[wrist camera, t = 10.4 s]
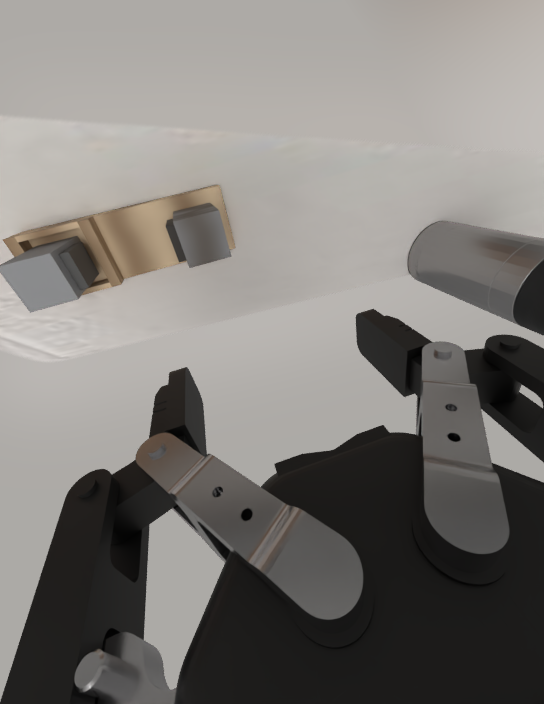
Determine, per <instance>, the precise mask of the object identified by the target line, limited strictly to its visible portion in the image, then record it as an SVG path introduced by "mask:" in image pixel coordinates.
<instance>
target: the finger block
mask: <svg viewBox="0 0 544 704" xmlns="http://www.w3.org/2000/svg"><path fill="white" fill-rule="evenodd" d="M0 273H1V274H2V275H3V277H4V278H5V279H6V281H7V282H8V283H9V285H10V286H11V287H12V289H13V290H14V291H15V293H16V294H17V295H18V297H19V298H20V299H21V301H22V302H23V303H24V305H25V306H26V307H27V309H28V310H29V311H30V312H34V311H37V310H41V309H45V308H48V307H52V306H55V305H59V304H63V303H66V302H70V301H73V300H77V299H79V298H80V296H81V295H82V294H83V292H84V291H85V290H86V289H87V288H89V287H90V285H91V284H92V283H93V281H94V280H95V279H96V277H97V276H98V275H99V272H98V270H97V268H96V267H95V265H94V263H93V261H92V259H91V258H90V256H89V254H88V252H87V250H86V248H85V247H84V245H83V243H82V242H81V241H80V239H79V237H78V236H74V237H70V238H66V239H62V240H58V241H54V242H50V243H46V244H42V245H38V246H35V247H34V248H32V249H30V250H28V251H26V252H24V253H22V254H20V255H18V256H16V257H14V258H13V259H11V260H9V261H7V262H5V263H3V264H1V265H0Z"/></svg>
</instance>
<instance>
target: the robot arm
mask: <svg viewBox="0 0 544 704" xmlns="http://www.w3.org/2000/svg"><path fill="white" fill-rule="evenodd" d="M408 267H409V272H410V274H411V275H412V277H413V278H415V279H416V280H418V281H420V282H422V283H425V284H427V285H429V286H431V287H433V288H435V289H438V290H440V291H442V292H445V293H447V294H449V295H452V296H454V297H456V298H458V299H460V300H463V301H465V302H467V303H470V304H472V305H474V306H477V307H479V308H481V309H483V310H486V311H488V312H490V313H492V314H495V315H497V316H500V317H502V318H504V319H507V320H509V321H511V322H513V323H515V324H518V325H520V326H522V327H525V328H527V329H529V330H532V331H534V332H537V333H539V334H541V335H544V239H543V238H538V237H532V236H526V235H521V234H515V233H509V232H504V231H498V230H492V229H487V228H481V227H475V226H470V225H465V224H459V223H453V222H448V221H441V222H437V223H434V224H432V225H430V226H429V227H428V228H426V229H425V230H424V231H423V232H422V233H421V234H420V235H419V236H418V238H417V239H416V241H415V242H414V244H413V246H412V248H411V251H410V254H409V259H408ZM356 332H357V345H358V348H359V350H360V352H361V354H362V355H363V356H364V357H365V358H366V359H367V360H368V361H369V362H370V363H371V364H372V365H373V366H374V367H375V368H376V369H377V370H378V371H379V372H380V373H381V374H382V375H383V376H384V377H385V378H386V379H387V380H388V381H389V382H390V383H391V384H392V385H393V386H394V387H395V388H396V389H397V390H398V391H399V392H400V393H401V394H402V395H403V396H404V397H406V396H409V395H412V394H414V393H415V394H416V395H417V414H416V415H417V416H416V417H417V418H416V435H415V434H409V433H389V432H388V431H387V429H386V428H385V427H384V425H382V426H379V427H376V428H373V429H371V430H368V431H365V432H362V433H359V434H357V435H355V436H354V437H352V438H351V439H350V440H348V441H346V442H345V443H343V444H342V445H340V446H339V447H337V448H336V449H334V450H331V451H323V452H315V453H307V454H301V455H298V456H295V457H292V458H290V459H287V460H284V461H281V462H278V463H276V464H275V468H276V471H277V473H276V474H275V475H273V476H272V477H270V478H269V479H268V480H267V481H266V482H265V483H264V484H263V485H262V486H261V487H260V486H258V485H257V484H255V483H254V482H252V481H251V480H249V479H248V478H246V477H245V476H243V475H242V474H240V473H239V472H237V471H236V470H234V469H233V468H231V467H230V466H228V465H227V464H225V463H224V462H222V461H221V460H219V459H218V458H216V457H215V456H213V455H211V454H208V455H207V452H206V439H205V424H204V410H203V403H202V398H201V395H200V393H199V391H198V388H197V386H196V384H195V382H194V380H193V378H192V376H191V373H190V371H189V369H188V368H187V367H185V368H182V369H179V370H176V371H172V372H170V373H169V383H168V385H166V386H162V387H161V388H160V389H159V391H158V392H157V394H156V396H155V401H154V408H153V415H152V422H151V428H150V435H149V439H148V440H146V441H145V442H144V443H143V444H142V445H141V446H140V448H139V449H138V451H137V454H136V460H135V461H133V462H132V463H130V464H129V465H127V466H125V467H124V468H122V469H121V470H119V471H117V472H116V473H114V474H113V475H112V474H111V473H110V472H109V471H107V470H105V469H99V470H95V471H92V472H90V473H88V474H86V475H85V476H83V477H82V478H81V479H79V480H78V481H77V482H76V483H75V484H74V485H73V487H71V489H70V490H69V492H68V494H67V496H66V498H65V501H64V504H63V508H62V511H61V514H60V517H59V521H58V523H57V526H56V529H55V533H54V536H53V539H52V542H51V545H50V548H49V551H48V555H47V558H46V561H45V564H44V567H43V570H42V573H41V576H40V580H39V583H38V586H37V589H36V592H35V595H34V599H33V602H32V605H31V608H30V611H29V614H28V617H27V620H26V623H25V627H24V630H23V633H22V636H21V639H20V642H19V645H18V649H17V652H16V655H15V658H14V661H13V664H12V667H11V670H10V673H9V677H8V680H7V683H6V686H5V689H4V692H3V695H2V699H1V702H0V704H544V483H543V482H540V481H538V480H535V479H532V478H530V477H527V476H525V475H522V474H519V473H517V472H514V471H512V470H509V469H506V468H504V467H501V466H498V465H496V464H493V463H491V458H490V453H489V447H488V443H487V438H486V432H485V427H484V422H483V418H482V412H481V409H483V411H485V412H486V413H487V414H488V415H489V416H491V417H492V418H493V419H494V420H495V421H496V422H498V424H500V425H501V426H502V427H503V428H504V429H506V430H507V431H508V432H509V433H510V434H511V435H513V436H514V437H515V438H516V439H517V440H518V441H519V442H520V443H522V444H523V445H524V446H525V447H526V448H528V449H529V450H530V451H531V452H532V453H533V454H535V455H536V456H537V457H538V458H539V459H540V460H542V461H543V462H544V349H543V348H541V347H539V346H537V345H536V344H534V343H532V342H530V341H528V340H526V339H524V338H521V337H517V336H513V335H496V336H492V337H490V338H488V339H487V340H486V343H485V348H484V349H475V350H465V351H464V350H463V349H462V348H461V347H459V346H457V345H455V344H453V343H449V342H431V341H430V340H428V339H427V338H425V337H424V336H423V335H421V334H419V333H418V332H417V331H415V330H414V329H413V330H412V328H411V327H409V326H408V325H405V324H404V323H403V322H402V321H400V320H399V319H396V318H393V317H390V316H383V315H382V314H380V313H379V312H377V311H376V310H374V309H371V310H368V311H365V312H361V313H358V314H357V315H356ZM521 385H524V386H525V387H527V388H528V389H530V390H531V391H533V392H534V393H536V394H537V395H538V396H539V397H540V398H541V400H542V402H543V408H541V407H540V406H538V405H537V404H536V403H534V402H533V401H531V400H530V399H529V398H527V397H526V396H524V395H523V394H521V393H520V392H519V390H520V387H521ZM170 509H173V510H174V511H175V512H176V513H177V514H178V515H179V516H180V517H181V518H182V519H183V520H184V521H185V522H186V523H187V524H188V525H189V526H190V527H191V528H192V529H194V531H195V532H196V533H198V535H200V536H201V537H202V539H204V541H205V542H206V543H207V544H208V545H209V546H210V548H211V549H212V550H213V551H214V552H215V553H216V554H217V555H218V556H219V557H220V558H221V559H222V560H223V561H224V562H225V565H224V567H223V569H222V572H221V574H220V577H219V579H218V581H217V584H216V586H215V588H214V591H213V593H212V595H211V598H210V600H209V603H208V605H207V607H206V609H205V612H204V614H203V617H202V619H201V621H200V624H199V626H198V628H197V631H196V633H195V636H194V638H193V640H192V643H191V645H190V647H189V649H188V652H187V654H186V656H185V659H184V662H183V665H182V668H181V671H180V675H179V679H178V683H177V688H175V689H173V690H170V689H169V687H168V686H167V683H166V680H165V676H164V668H163V661H162V657H161V655H160V653H159V651H158V650H157V648H155V647H154V646H153V645H151V644H149V643H148V642H146V641H144V620H145V600H146V581H147V561H148V541H149V524H150V523H152V522H153V521H155V520H156V519H158V518H159V517H160V516H162V515H163V514H165V513H166V512H167V511H169V510H170Z"/></svg>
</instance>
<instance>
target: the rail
mask: <svg viewBox="0 0 544 704" xmlns="http://www.w3.org/2000/svg"><path fill="white" fill-rule="evenodd" d="M74 236H78V237H79V239H80V241H81V242H82V243H83V245H84V247H85V248H86V250H87V252H88V254H89V256H90V258H91V259H92V261H93V263H94V265H95V267H96V268H97V270H98V272H99V275H98V276H97V277H96V279H95V280H94V281H93V283H92V284H91V285H90V287H89V288H87V289H86V290H85V291H84V292H83V294H82V295H84V294H88V293H92V292H95V291H99V290H102V289H106V288H110V287H113V286H117V285H120V284H122V282H123V280H124V279H125V278H128V277H132V276H136V275H139V274H143V273H147V272H150V271H154V270H158V269H161V268H165V267H169V266H172V265H176V264H180V263H183V262H188V265H189V268H191V267H195V266H199V265H202V264H206V263H209V262H213V261H217V260H220V259H224V258H227V257H231V253H230V250H231V249H234V248H235V244H234V240H233V236H232V232H231V228H230V224H229V221H228V217H227V213H226V209H225V205H224V201H223V197H222V193H221V189H220V186H219V185H214V186H210V187H206V188H202V189H197V190H193V191H189V192H185V193H181V194H177V195H173V196H169V197H164V198H160V199H156V200H152V201H148V202H144V203H140V204H136V205H131V206H127V207H123V208H119V209H115V210H111V211H107V212H103V213H99V214H94V215H90V216H86V217H82V218H78V219H74V220H70V221H66V222H61V223H57V224H53V225H49V226H45V227H41V228H37V229H33V230H29V231H24V232H21V233H18V234H16V235H13V236H10V237H9V238H6V239H3V241H4V243H5V244H6V245H7V247H8V248H9V250H10V251H11V253H12V254H13V255H14V257H16V256H18V255H20V254H22V253H24V252H26V251H28V250H30V249H32V248H34V247H35V246H38V245H42V244H46V243H50V242H54V241H58V240H62V239H66V238H70V237H74Z"/></svg>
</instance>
